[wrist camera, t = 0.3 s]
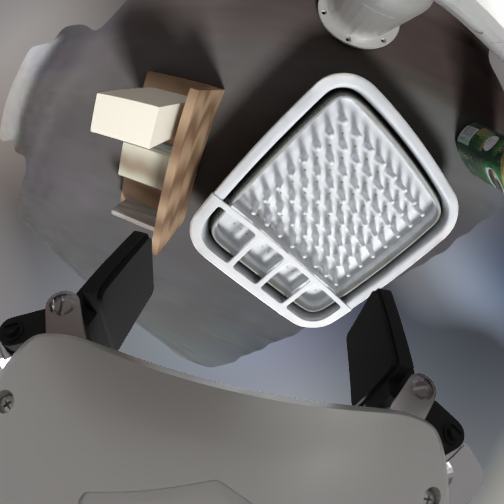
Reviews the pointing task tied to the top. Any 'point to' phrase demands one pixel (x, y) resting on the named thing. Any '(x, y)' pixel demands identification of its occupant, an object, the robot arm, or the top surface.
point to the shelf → (178, 156)
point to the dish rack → (327, 204)
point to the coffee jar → (483, 153)
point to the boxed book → (138, 115)
